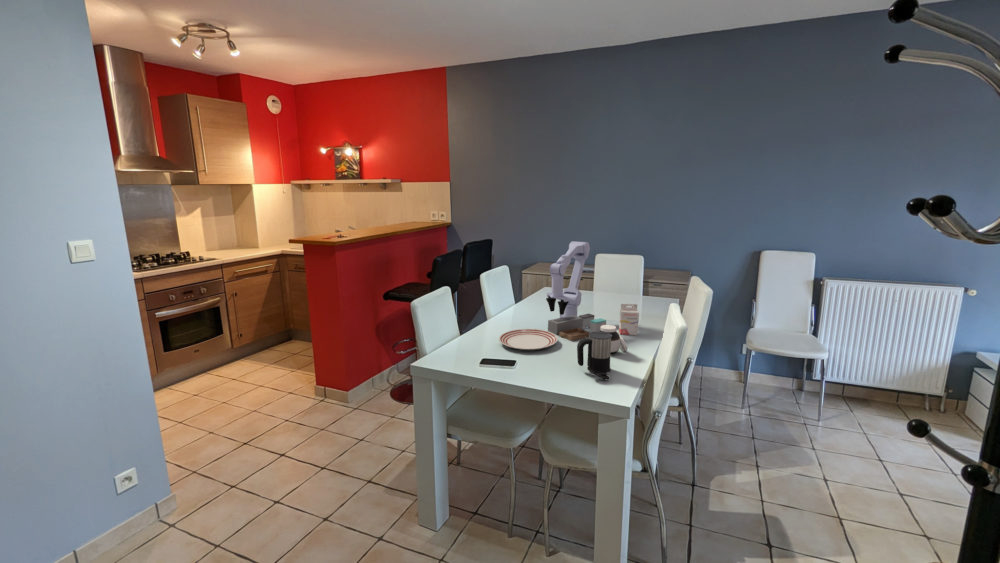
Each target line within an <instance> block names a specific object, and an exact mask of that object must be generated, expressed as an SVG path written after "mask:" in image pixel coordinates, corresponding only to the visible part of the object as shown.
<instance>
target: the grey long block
mask: <svg viewBox="0 0 1000 563" xmlns="http://www.w3.org/2000/svg"><path fill="white" fill-rule="evenodd" d="M547 323H548V324H547V331H548V332H551V333H553V334H555V335H556V336H559V332H561V331H566V330H570V329H574V328H580V329H583V330H584V328H583V318H581V317H579V315H577V316H575V315H572V316H567V317H562V318H560V317H558V318H554V319H553V318H552V319H548V320H547Z"/></svg>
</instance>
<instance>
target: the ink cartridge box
mask: <svg viewBox="0 0 1000 563" xmlns="http://www.w3.org/2000/svg"><path fill="white" fill-rule="evenodd" d="M619 310H620V311H619V326H618V327H619V328H618V333H619V335H620V336H621V335H624V336H625V335H626V336H638V335H639V334H638V333H639V332H638V331H639V323H640V322H639V321H640V320H639V318H640V311H638V304H636V303H621V304H620V309H619Z"/></svg>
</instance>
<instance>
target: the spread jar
mask: <svg viewBox="0 0 1000 563" xmlns="http://www.w3.org/2000/svg"><path fill="white" fill-rule="evenodd" d="M600 332H607V333H610V334H612V337H611V352H610V356H613V355H615V354H617V353H618V352H619V350H620V351H621V352H622V353H625V352H627V351H628V346H627V343H626V341H625V340H624V338H623V337H622V336H621V335H620V333H619V332H617V326H615V325H612V324H606V325H602V326H601V327H600Z"/></svg>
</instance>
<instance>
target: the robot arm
mask: <svg viewBox="0 0 1000 563" xmlns="http://www.w3.org/2000/svg"><path fill="white" fill-rule="evenodd" d="M590 247H591V245H590V244H589V242H587V241H575V240H574V241H571V242H570V243H569V244H568V250H567V251H566V253H565V254H562V255H561V256H560V257H559V258H558V260H556V262H554V263H552V264H550V266H549V274H550V279H551V292H547V293H546V299H545V300H546V302H547V304H548V307H549V311H550V313H551V312H555V307H556V301H557V300H558V301H557V304H558V308H559V309H558V310H559V311H558V312H559V318H562V317H567V316H572V315H575V316H578V307H579V306H580V305H581V303H582V292H581V291H580V290H579V286H580V282H581V279H582V275H583V270H584V268H585V267H584V266H585V263H586V262H585V261H586V260H587V259H588V258H589V255H590V250H591V248H590ZM572 258H573V259H575V261H574V264H573V265H574V266H573V269H572V273H571V277H570V281H569V284H568V287H566V288H564V275H565V274H566V271H567V267H568V266H569V265H570V263H571V262H572V261H571V259H572Z"/></svg>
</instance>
